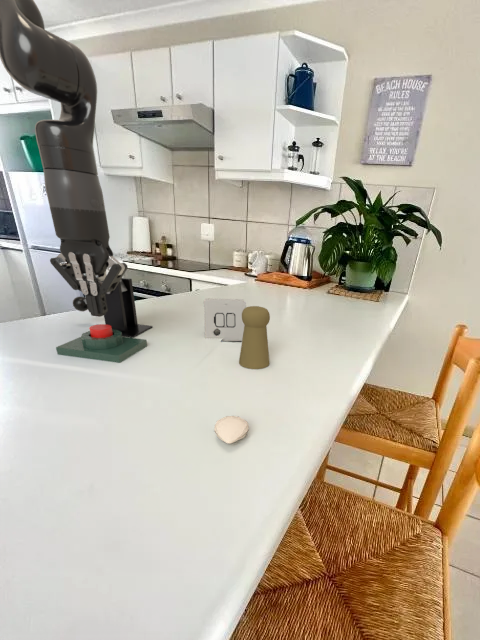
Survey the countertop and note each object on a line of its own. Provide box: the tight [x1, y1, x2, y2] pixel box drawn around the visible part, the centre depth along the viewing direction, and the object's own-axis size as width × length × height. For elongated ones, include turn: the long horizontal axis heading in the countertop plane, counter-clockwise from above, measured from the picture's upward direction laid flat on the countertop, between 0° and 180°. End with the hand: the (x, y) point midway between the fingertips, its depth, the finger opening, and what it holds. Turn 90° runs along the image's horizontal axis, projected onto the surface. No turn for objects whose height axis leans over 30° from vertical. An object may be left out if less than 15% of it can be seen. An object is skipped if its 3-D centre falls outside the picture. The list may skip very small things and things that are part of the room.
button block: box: [55, 329, 148, 364], centre depth 61 cm, size 12×9×4 cm
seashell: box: [213, 415, 249, 445], centre depth 40 cm, size 4×5×2 cm
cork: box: [238, 305, 271, 370], centre depth 61 cm, size 6×6×11 cm
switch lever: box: [72, 280, 127, 312], centre depth 70 cm, size 13×3×3 cm, turn 82°
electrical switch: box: [203, 297, 247, 342], centre depth 73 cm, size 9×5×9 cm, turn 102°
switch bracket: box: [103, 277, 154, 338], centre depth 70 cm, size 10×8×12 cm
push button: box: [88, 323, 113, 338], centre depth 60 cm, size 4×4×2 cm
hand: (98, 315), depth 58 cm, fingers closed
